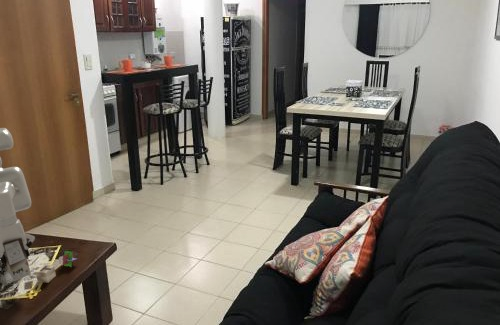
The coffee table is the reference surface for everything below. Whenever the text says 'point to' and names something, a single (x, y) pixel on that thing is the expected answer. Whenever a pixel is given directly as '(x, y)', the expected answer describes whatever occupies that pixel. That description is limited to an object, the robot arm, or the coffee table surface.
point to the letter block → (45, 273)
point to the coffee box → (16, 259)
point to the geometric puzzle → (67, 258)
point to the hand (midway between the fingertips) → (16, 260)
